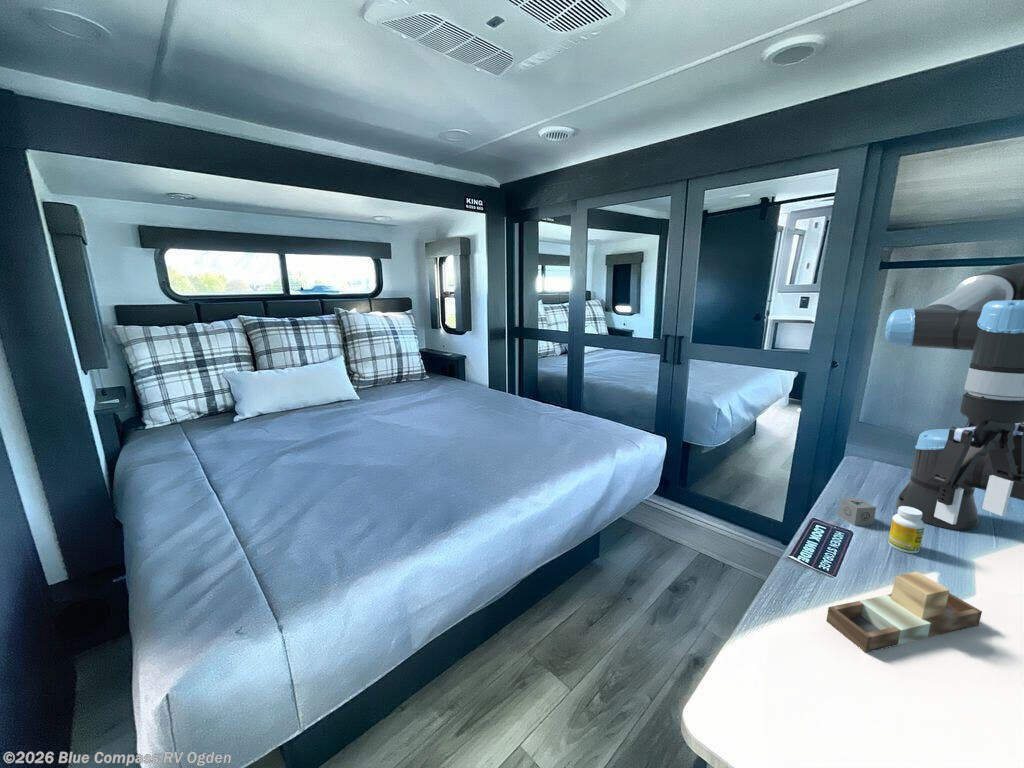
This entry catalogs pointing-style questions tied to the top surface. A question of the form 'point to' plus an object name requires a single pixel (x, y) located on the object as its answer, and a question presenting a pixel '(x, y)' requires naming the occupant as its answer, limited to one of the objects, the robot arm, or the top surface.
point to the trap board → (897, 621)
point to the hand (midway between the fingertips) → (969, 516)
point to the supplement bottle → (906, 530)
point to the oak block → (920, 595)
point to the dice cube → (857, 511)
